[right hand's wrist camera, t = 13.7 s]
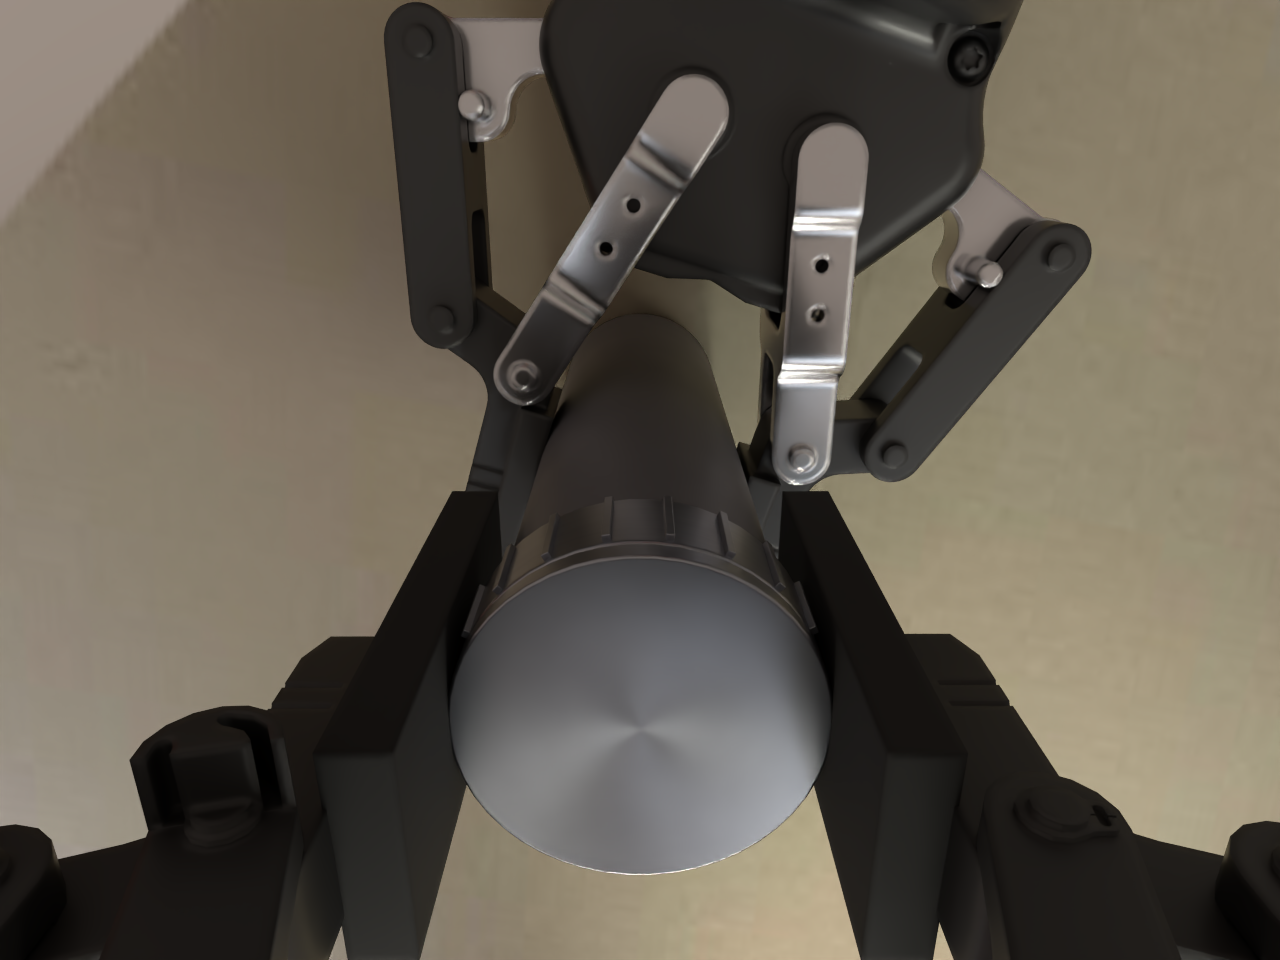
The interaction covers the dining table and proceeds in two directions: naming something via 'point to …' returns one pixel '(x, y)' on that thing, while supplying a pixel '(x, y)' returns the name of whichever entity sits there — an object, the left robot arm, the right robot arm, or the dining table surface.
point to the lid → (640, 689)
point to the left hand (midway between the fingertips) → (607, 573)
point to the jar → (640, 428)
